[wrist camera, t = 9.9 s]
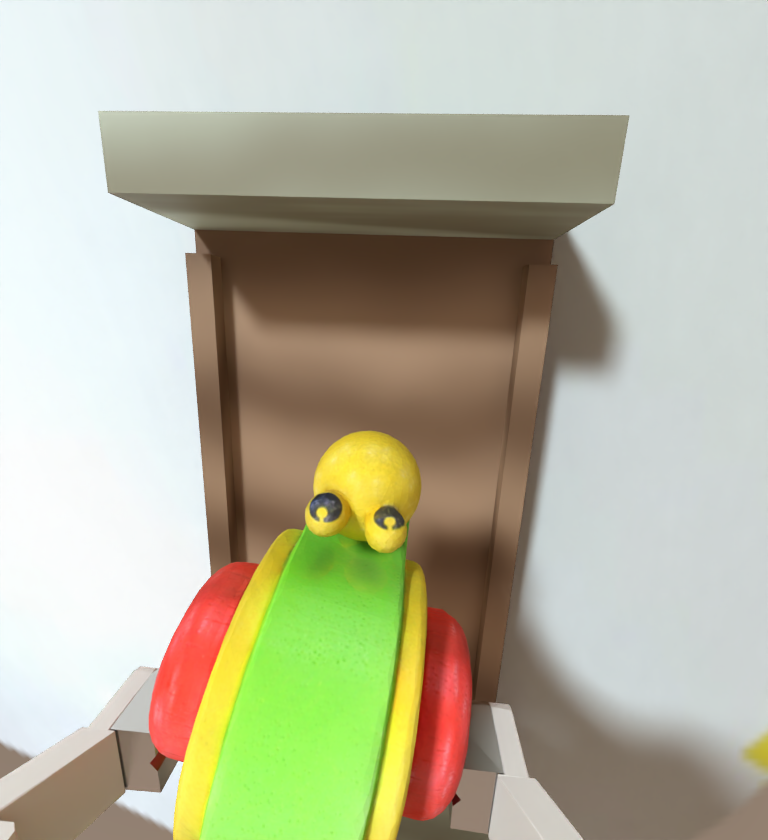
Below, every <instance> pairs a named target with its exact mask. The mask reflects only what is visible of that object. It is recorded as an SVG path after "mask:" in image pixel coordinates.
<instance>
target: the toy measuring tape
mask: <svg viewBox="0 0 768 840" xmlns="http://www.w3.org/2000/svg"><path fill="white" fill-rule="evenodd" d="M313 490H314V497H313V498H312V499H311V500H310V502H309V503H308V505H307V507H306V509H305V521H306V525H305V528H304V530H299V529H287V530H285V531H284V532H282V533H281V534H280V535H279V536H278V537H277V538H276V540H275V541H274V542H273V543H272V545H271V546H270V548H269V549H268V551H267V553H266V554H265V556H264V557H263V559H262V561H261V562H260V564H257V563H249V562H234V563H230V564H228V565H226V566H225V567H223V568H221V569H219V570H218V571H217V572H216V573H215V574H213V575H212V576H211V577H210V578H209V579H208V581H207V582H206V583H205V584H204V585H203V587H202V588H201V589H200V590H199V592H198V593H197V595H196V596H195V598H194V600H193V601H192V603H191V605H190V606H189V608H188V609H187V611H186V613H185V615H184V617H183V618H182V620H181V622H180V624H179V626H178V628H177V629H176V631H175V633H174V635H173V637H172V639H171V642H170V644H169V646H168V648H167V651H166V653H165V656H164V658H163V660H162V663H161V666H160V669H159V671H158V674H157V677H156V681H155V685H154V688H153V692H152V698H151V705H150V711H149V732H150V736H151V740H152V742H153V744H154V746H155V747H156V749H157V750H158V751H159V753H161V754H162V755H164V756H165V757H167V758H171V759H174V760H178V761H181V762H184V763H183V767H182V771H181V775H180V780H179V785H178V792H177V799H176V806H175V813H174V828H173V839H174V840H396V838H397V834H398V831H399V827H400V823H401V819H402V816H403V817H407V818H410V819H414V820H420V821H424V820H429V819H433V818H435V817H436V816H437V815H439V814H440V813H442V812H443V811H444V810H445V809H446V807H447V806H448V805H449V804H450V802H451V801H452V799H453V798H454V796H455V794H456V791H457V788H458V785H459V783H460V780H461V777H462V773H463V768H464V764H465V759H466V754H467V750H468V739H469V728H470V717H471V704H472V674H471V663H470V653H469V648H468V644H467V639H466V636H465V634H464V631H463V629H462V627H461V626H460V624H459V623H458V622H457V620H456V619H455V618H453V617H452V616H451V615H449V614H448V613H447V612H445V611H444V610H443V609H438V608H432V607H427V590H426V582H425V576H424V573H423V570H422V568H421V566H420V565H419V564H418V563H416V562H414V561H411V560H407V559H406V550H407V540H408V531H409V522H410V519H411V517H412V516H413V514H414V512H415V511H416V509H417V506H418V503H419V500H420V494H421V476H420V471H419V468H418V465H417V463H416V460H415V458H414V457H413V455H412V454H411V452H410V451H409V450H408V448H407V447H406V446H405V445H404V444H402V443H401V442H400V441H399V440H397V439H395V438H393V437H392V436H390V435H388V434H385V433H381V432H377V431H359V432H354V433H351V434H348V435H346V436H344V437H342V438H341V439H339V440H338V441H336V442H335V443H333V444H332V445H331V446H330V447H329V448H328V450H327V451H326V452H325V453H324V455H323V456H322V457H321V459H320V461H319V463H318V466H317V468H316V471H315V475H314V483H313Z"/></svg>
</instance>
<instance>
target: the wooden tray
mask: <svg viewBox="0 0 768 840" xmlns="http://www.w3.org/2000/svg"><path fill="white" fill-rule="evenodd" d="M98 113H99V122H100V130H101V138H102V146H103V154H104V163H105V171H106V179H107V187H108V193H110V194H113V195H115V196H117V197H120V198H122V199H124V200H127V201H129V202H131V203H134V204H136V205H138V206H141V207H143V208H145V209H148V210H150V211H152V212H155V213H157V214H159V215H162V216H164V217H166V218H169V219H171V220H173V221H176V222H178V223H180V224H183V225H185V226H187V227H190V228H192V229H194V230H195V241H196V253H185V255H186V268H187V280H188V292H189V305H190V317H191V330H192V342H193V355H194V367H195V379H196V392H197V404H198V417H199V429H200V441H201V454H202V466H203V479H204V491H205V504H206V516H207V528H208V541H209V553H210V566H211V576H212V575H213V574H215V573H216V572H217V571H218V570H219V569H221V568H223V567H225V566H226V565H228V564H230V563H234V562H249V563H257V564H260V562H261V561H262V559H263V557H264V556H265V554H266V553H267V551H268V549H269V548H270V546H271V545H272V543H273V542H274V541H275V540H276V538H277V537H278V536H279V535H280V534H281V533H282V532H284V531H285V530H287V529H299V530H304V528H305V525H306V521H305V509H306V507H307V505H308V503H309V502H310V500H311V499H312V498H313V497H314V490H313V483H314V475H315V471H316V468H317V466H318V463H319V461H320V459H321V457H322V456H323V455H324V453H325V452H326V451H327V450H328V448H329V447H330V446H331V445H332V444H333V443H335V442H336V441H338V440H339V439H341V438H342V437H344V436H346V435H348V434H351V433H354V432H359V431H377V432H381V433H385V434H388V435H390V436H392V437H393V438H395V439H397V440H399V441H400V442H401V443H402V444H404V445H405V446H406V447H407V448H408V450H409V451H410V452H411V454H412V455H413V457H414V458H415V460H416V463H417V465H418V468H419V471H420V476H421V494H420V500H419V503H418V506H417V509H416V511H415V512H414V514H413V516H412V517H411V519H410V522H409V531H408V540H407V550H406V559H407V560H411V561H414V562H416V563H418V564H419V565H420V566H421V568H422V570H423V573H424V576H425V582H426V590H427V607H432V608H438V609H443V610H444V611H445V612H447V613H448V614H449V615H451V616H452V617H453V618H455V619H456V620H457V622H458V623H459V624H460V626H461V627H462V629H463V631H464V634H465V636H466V639H467V644H468V648H469V653H470V663H471V674H472V700H474V701H486V702H488V703H489V702H491V703H495V702H496V695H497V688H498V681H499V674H500V667H501V660H502V653H503V646H504V639H505V632H506V625H507V618H508V611H509V604H510V597H511V590H512V583H513V576H514V569H515V562H516V555H517V548H518V541H519V534H520V526H521V519H522V512H523V505H524V498H525V491H526V484H527V477H528V470H529V463H530V456H531V449H532V442H533V435H534V428H535V421H536V414H537V407H538V400H539V393H540V386H541V379H542V372H543V365H544V358H545V350H546V343H547V336H548V329H549V322H550V315H551V308H552V301H553V294H554V287H555V280H556V273H557V266H558V265H551V258H552V250H553V243H554V239H556V238H558V237H559V236H561V235H563V234H564V233H566V232H568V231H569V230H571V229H573V228H574V227H576V226H578V225H580V224H581V223H583V222H585V221H586V220H588V219H590V218H591V217H593V216H595V215H596V214H598V213H600V212H601V211H603V210H605V209H606V208H608V207H610V206H611V205H613V204H614V203H615V197H616V191H617V185H618V179H619V173H620V167H621V162H622V156H623V150H624V144H625V138H626V132H627V126H628V120H629V115H512V114H393V113H274V112H156V111H98ZM396 840H490V839H489V837H488V834H484V833H477V832H471V831H465V830H459V829H452V828H450V819H449V806H447V807H446V809H445V810H444V811H443V812H442V813H440V814H439V815H437V816H436V817H435V818H433V819H429V820H424V821H420V820H414V819H410V818H407V817H403V816H402V819H401V823H400V827H399V831H398V834H397V838H396Z"/></svg>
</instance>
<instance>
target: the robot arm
mask: <svg viewBox="0 0 768 840" xmlns="http://www.w3.org/2000/svg"><path fill="white" fill-rule="evenodd" d="M159 669H160V668H150V667H142V666H140V667H139V668H138V669H136V670H135V671H133V672H132V674H131V675H130V676H129V677H128V679H127V680H126V681H125V682H124V684H123V685H122V686H121V687H120V689H119V690H118V691H117V692H116V693H115V695H114V696H113V697H112V698H111V700H110V701H109V702H108V703H107V705H106V706H105V707H104V708H103V710H102V711H101V712H100V713H99V714H98V716H97V717H96V718H95V719H94V721H93V722H92V723H91V724H90V726H89V727H82V728H80V729H78V730H77V731H75V732H74V733H72V734H71V735H69V736H67V737H66V738H64V739H63V740H61V741H60V742H58V743H56V744H55V745H53V746H52V747H50V748H48V749H47V750H45V751H44V752H42V753H41V754H39V755H37V756H36V757H34V758H33V759H31V760H30V761H28V762H26V763H25V764H24V765H22V766H20V767H19V768H17V769H15V770H14V771H12V772H11V773H9V774H8V775H6V776H4V777H3V778H1V779H0V840H74V839H75V838H76V837H77V836H79V835H80V834H81V833H82V832H83V831H84V830H85V829H86V828H87V827H88V826H89V825H90V824H92V823H93V822H94V821H95V820H96V819H97V818H98V817H99V816H100V815H101V814H102V813H103V812H104V811H106V810H107V809H108V808H109V807H110V806H111V805H112V804H113V803H114V802H115V801H116V800H117V799H119V798H120V797H121V796H122V795H123V794H124V793H125V790H137V791H149V792H161V791H162V789H163V787H164V786H165V784H166V782H167V780H168V778H169V776H170V775H171V773H172V771H173V769H174V767H175V765H176V764H177V762H178V760H174V759H171V758H167V757H165V756H164V755H162V754H161V753H159V751H158V750H157V749H156V747H155V746H154V744H153V742H152V740H151V736H150V732H149V711H150V705H151V698H152V692H153V688H154V685H155V681H156V677H157V674H158V671H159ZM448 806H449V819H450V828H452V829H459V830H465V831H471V832H477V833H484V834H488V837H489V839H490V840H584V839H583V838H582V837H581V835H580V834H579V833H578V832H577V830H576V829H575V828H574V827H573V825H572V824H571V823H570V821H569V820H568V819H567V818H566V816H565V815H564V814H563V813H562V811H561V810H560V809H559V807H558V806H557V805H556V804H555V802H554V801H553V800H552V799H551V797H550V796H549V795H548V793H547V792H546V791H545V790H544V788H543V787H542V786H541V785H540V783H539V782H538V781H537V780H536V779H535V778H529V775H528V771H527V767H526V763H525V759H524V755H523V751H522V747H521V743H520V740H519V736H518V732H517V728H516V724H515V720H514V716H513V712H512V709H511V707H510V705H509V704H501V703H491V702H489V703H488V702H486V701H474V700H472V704H471V717H470V728H469V739H468V750H467V754H466V759H465V764H464V768H463V773H462V777H461V780H460V783H459V785H458V788H457V791H456V794H455V796H454V798H453V799H452V801H451V802H450V804H449V805H448Z"/></svg>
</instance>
